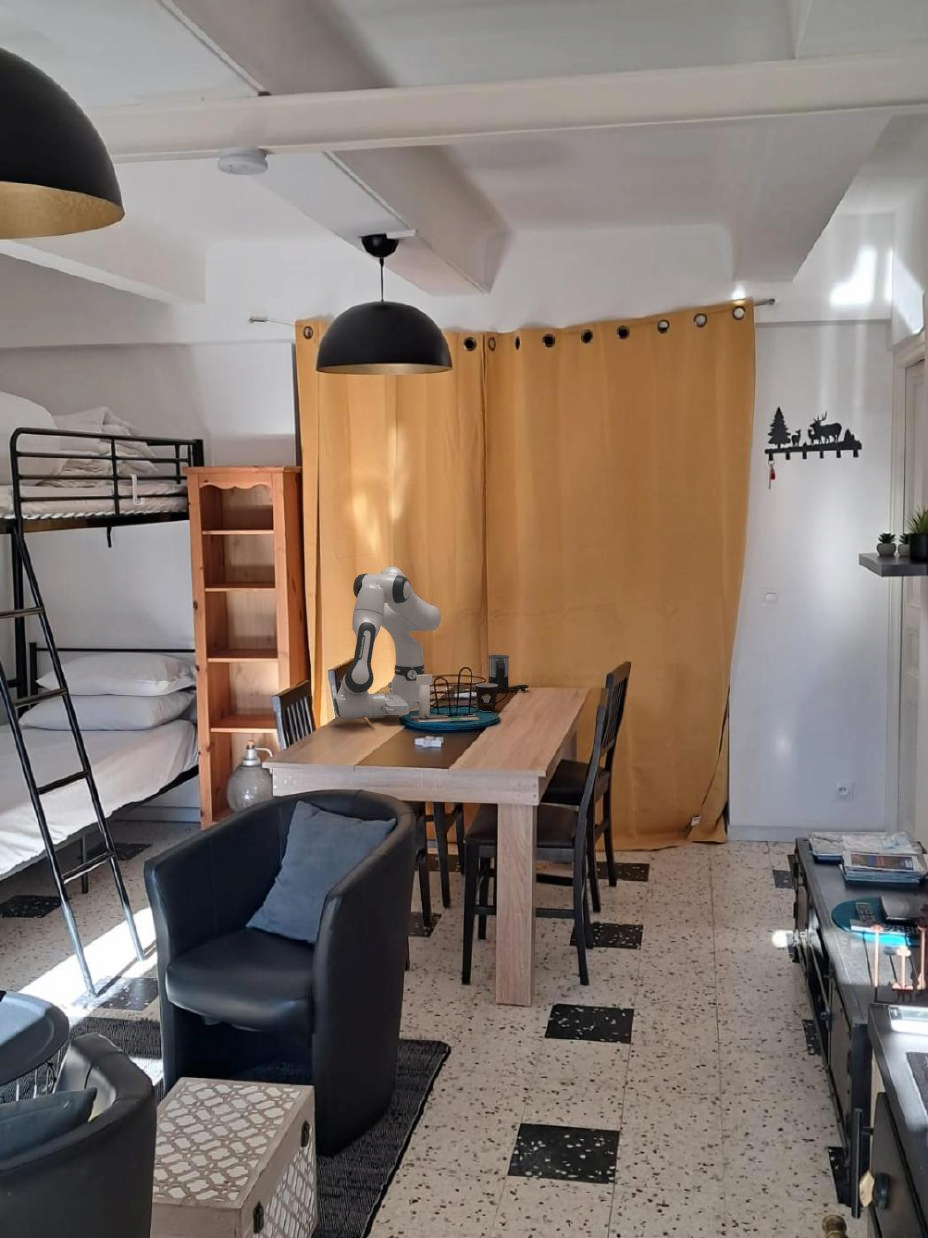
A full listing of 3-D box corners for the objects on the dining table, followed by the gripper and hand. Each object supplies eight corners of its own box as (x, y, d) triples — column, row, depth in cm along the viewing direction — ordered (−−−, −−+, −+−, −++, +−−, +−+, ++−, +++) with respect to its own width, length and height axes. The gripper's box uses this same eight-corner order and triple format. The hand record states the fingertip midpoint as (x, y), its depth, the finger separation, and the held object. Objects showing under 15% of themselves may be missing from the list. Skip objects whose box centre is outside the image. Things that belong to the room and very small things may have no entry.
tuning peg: (415, 716, 440) (415, 674, 438) (430, 716, 441) (430, 674, 439) (419, 720, 433) (419, 677, 431) (434, 719, 434) (434, 677, 432)
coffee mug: (471, 711, 461) (471, 685, 459) (481, 708, 468) (481, 682, 467) (498, 714, 455) (498, 688, 454) (508, 710, 463) (508, 685, 462)
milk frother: (483, 689, 511) (484, 654, 509) (516, 687, 517) (517, 652, 515) (498, 694, 498) (498, 659, 496) (532, 692, 504) (532, 657, 503)
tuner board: (410, 720, 444) (410, 715, 443) (473, 717, 449) (473, 713, 449) (416, 726, 432) (416, 721, 432) (481, 723, 437) (481, 719, 437)
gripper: (383, 702, 424) (422, 700, 427) (375, 692, 444) (412, 691, 447) (383, 719, 425) (422, 718, 428) (375, 709, 445) (412, 707, 448)
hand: (417, 704), depth 437 cm, fingers closed
